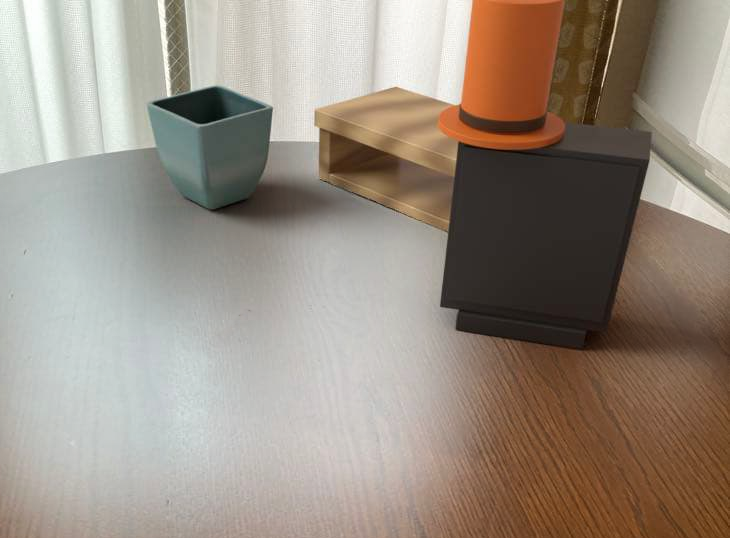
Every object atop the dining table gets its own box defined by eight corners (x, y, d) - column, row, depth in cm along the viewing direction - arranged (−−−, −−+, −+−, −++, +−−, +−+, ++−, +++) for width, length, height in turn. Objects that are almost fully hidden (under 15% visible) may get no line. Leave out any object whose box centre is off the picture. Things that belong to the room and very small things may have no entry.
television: (601, 353, 71) (649, 162, 61) (436, 327, 74) (457, 139, 64) (607, 312, 76) (652, 129, 67) (452, 288, 79) (474, 109, 69)
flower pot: (206, 223, 88) (199, 125, 82) (153, 196, 93) (143, 101, 87) (277, 200, 92) (275, 106, 86) (223, 175, 97) (218, 83, 91)
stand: (553, 212, 91) (566, 139, 87) (476, 247, 85) (486, 170, 80) (391, 153, 103) (395, 86, 98) (313, 179, 97) (314, 109, 92)
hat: (523, 103, 70) (543, -25, 65) (588, 142, 64) (616, 4, 59) (417, 114, 68) (428, -18, 62) (473, 156, 62) (491, 13, 56)
